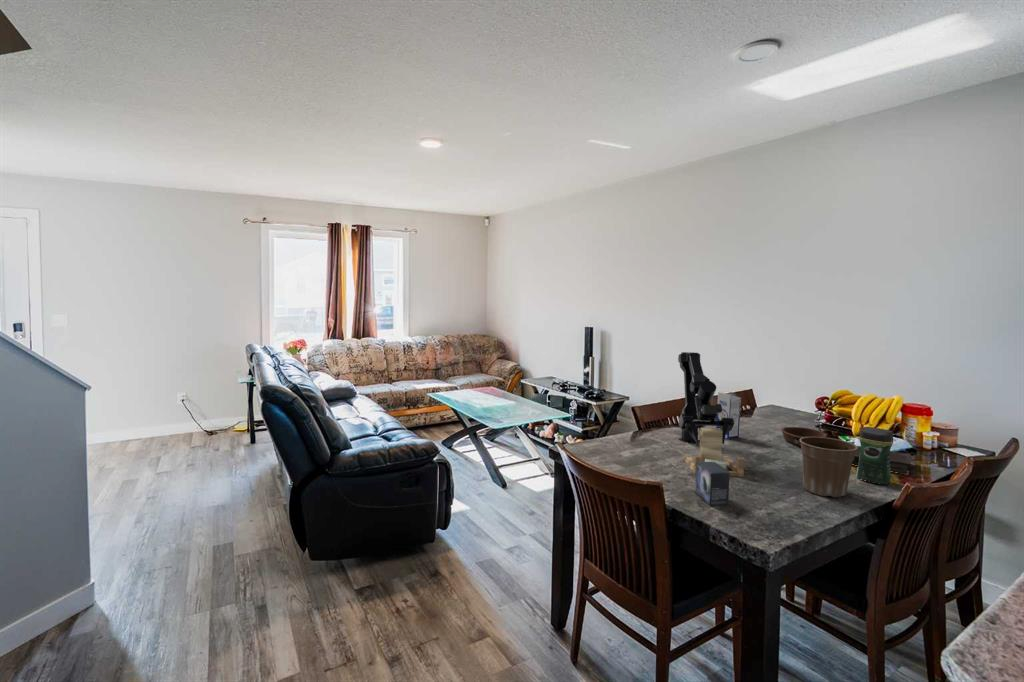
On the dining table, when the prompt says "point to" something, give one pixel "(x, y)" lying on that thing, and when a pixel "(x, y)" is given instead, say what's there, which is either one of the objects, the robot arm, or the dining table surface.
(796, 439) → the dish
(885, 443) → the coffee jar
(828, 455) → the plant pot
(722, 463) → the offcut top
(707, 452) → the pale wooden block
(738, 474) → the rack
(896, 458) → the diary
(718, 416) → the milk carton
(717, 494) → the small box
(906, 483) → the dining table surface
